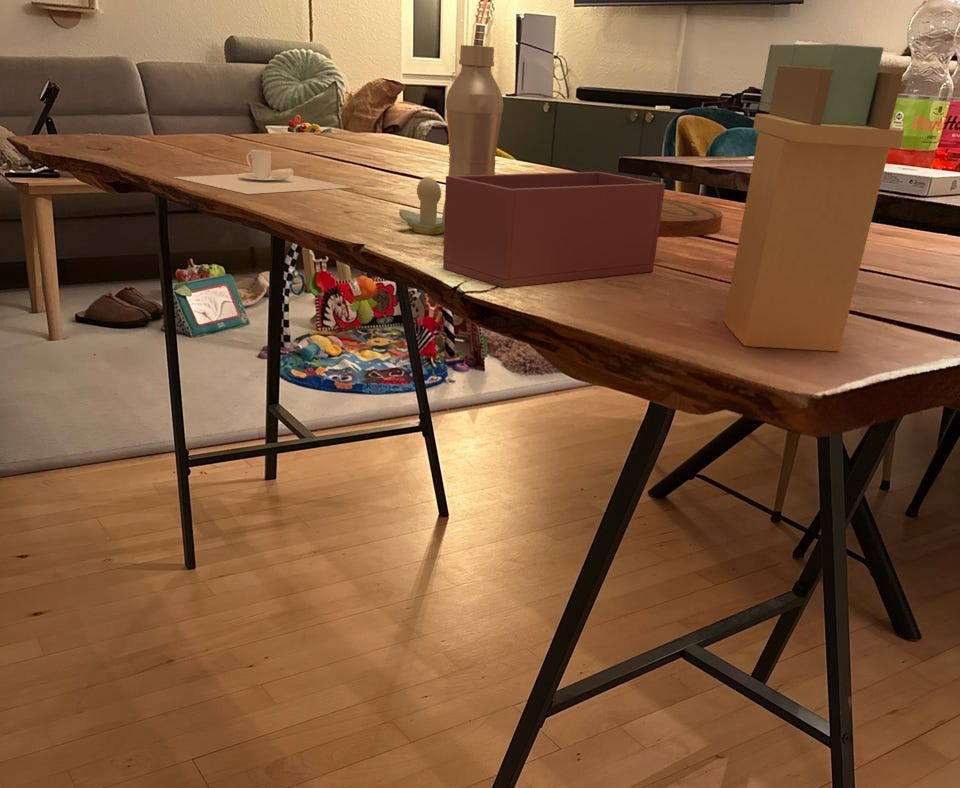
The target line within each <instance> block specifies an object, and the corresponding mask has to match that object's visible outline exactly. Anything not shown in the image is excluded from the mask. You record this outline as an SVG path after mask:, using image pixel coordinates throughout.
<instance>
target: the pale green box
mask: <svg viewBox="0 0 960 788" xmlns="http://www.w3.org/2000/svg"><path fill="white" fill-rule="evenodd" d="M883 52H884V47H883V46H869V45H856V44H855V45H854V44H839V43H821V44H820V43H819V44H818V43H813V44H812V43H810V44H804V43H803V44H770V45H769V51H768V57H767V62H766V68H765V71H764V77H763V78H764V79H763V84H762V89H761V95H760V100H759V104H758V105H759V106H758V111H761V112H766V113H769V112H770V106H771V101H772V96H773V90H774V85H775V80H776V74H777V69H778V66H779V65H781V66H797V67H814V68H830V69H833V73H832V77H831V82H830V87H829V91H828V96H827V101H826V106H825V110H824V115H823V120H822V124H837V125H853V126H865V125H866V121H867V117H868V113H869V108H870V104H871V100H872V95H873V91H874V87H875V83H876V78H877V74H878V72H879V70H880V64H881V61H882V58H883V57H882V56H883Z"/></svg>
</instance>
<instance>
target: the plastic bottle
mask: <svg viewBox="0 0 960 788" xmlns="http://www.w3.org/2000/svg"><path fill="white" fill-rule="evenodd" d="M494 55H495V46H494V47H493V46H481V45H469V44H467V45H466V44H465V45H464V44H461V45H460V54H459V56H460V57H459V59H458V64H459V65H461V69H460V72H459V73H458V75H457V76H456V78H455V79H454V81H453V82H452V84H451V86H450V88H449V89H448V91H447V95H446V99H445V111H446V119H447V120H446V123H447V133H448V153H449V157H448V174H447V176H461V175H496V156H497V151H498V140H499V135H500V129H501V122H502V117H503V116H502V114H503V112H504V100H503V95H502V92H501V89H500V87H499V85H498V83H497V81H496V79H495V78H494V75H493V74H492V67H495V61H494V57H495V56H494ZM441 218H442V221H443V230H444V221H445V202H444V203H443V210H442V216H441Z"/></svg>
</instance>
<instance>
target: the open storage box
mask: <svg viewBox="0 0 960 788" xmlns="http://www.w3.org/2000/svg"><path fill="white" fill-rule="evenodd" d="M665 190H666V183H665V182H659V181H652V180H647V179H641V178H635V177H631V176H624V175H619V174H613V173H608V172H603V171H577V172H576V171H575V172H542V173H541V172H538V173H535V172H533V173H506V174H505V173H504V174H503V173H501V174H499V173H498V174H495V175H461V176H448V175H446V176H445V190H444V191H445V193H444V194H445V195H444V203H445V221H444V232H443V256H442V257H443V258H442V259H443V261H442V268H443V269H444V270H447V271H450V272H453V273H457V274H460V275H463V276H466V277H469V278H472V279H476V280H478V281H481V282H485V283H487V284H492V285H494V286H497V287H500V288H504V289H506V288H507V289H508V288H516V287H523V286H534V285H542V284H543V285H544V284H550V283H551V284H552V283H559V282H561V283H562V282H571V281H578V280H580V281H581V280H587V279H598V278H607V277H616V276H622V275H623V276H624V275H633V274H643V273H651V272H654V268H655V260H656V254H657V247H658V239H659V236H658V233H659V226H660V219H661V212H662V205H663V199H665V198H664V197H665Z"/></svg>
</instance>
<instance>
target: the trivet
mask: <svg viewBox="0 0 960 788" xmlns="http://www.w3.org/2000/svg"><path fill="white" fill-rule="evenodd" d="M723 216H724V215H723V213H722V212H721V211H720V210H717V209H716V208H714V207H713V208H712V207H709V206H705V205H702V204H698V203H693V202H687V201H682V200H681V201H680V200H675V199H667V198H663V205H662V212H661V219H660V226H659V233H658V237H669V238H671V237H696V236H698V237H699V236H708V235H711V234H716V233H717V232H720V231H721V228H722V227H721V226H722V221H723Z"/></svg>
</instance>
